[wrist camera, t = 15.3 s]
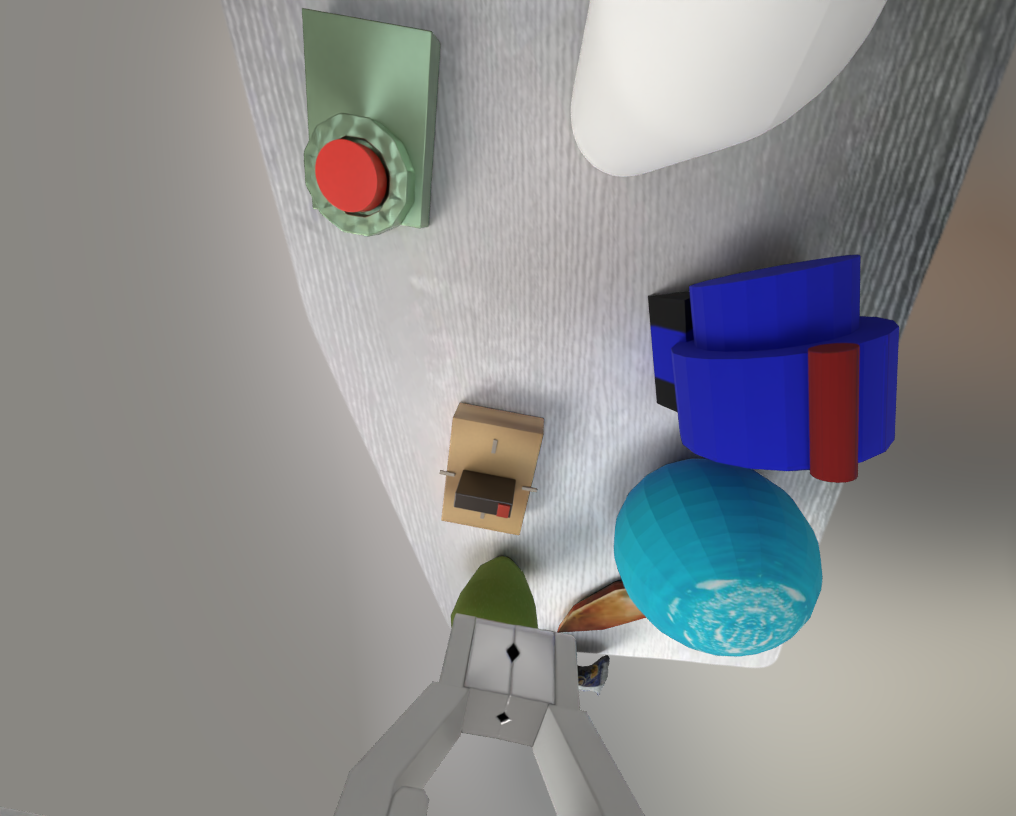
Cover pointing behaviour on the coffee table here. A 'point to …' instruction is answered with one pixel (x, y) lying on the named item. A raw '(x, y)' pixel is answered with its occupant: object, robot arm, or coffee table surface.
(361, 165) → the lamp button
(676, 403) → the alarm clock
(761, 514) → the decorative orb
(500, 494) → the knob
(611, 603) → the wooden boat shaped bowl
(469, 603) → the apple
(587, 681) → the snack package
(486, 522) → the panel
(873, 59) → the coffee table surface
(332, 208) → the green lamp base
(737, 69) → the bottle
